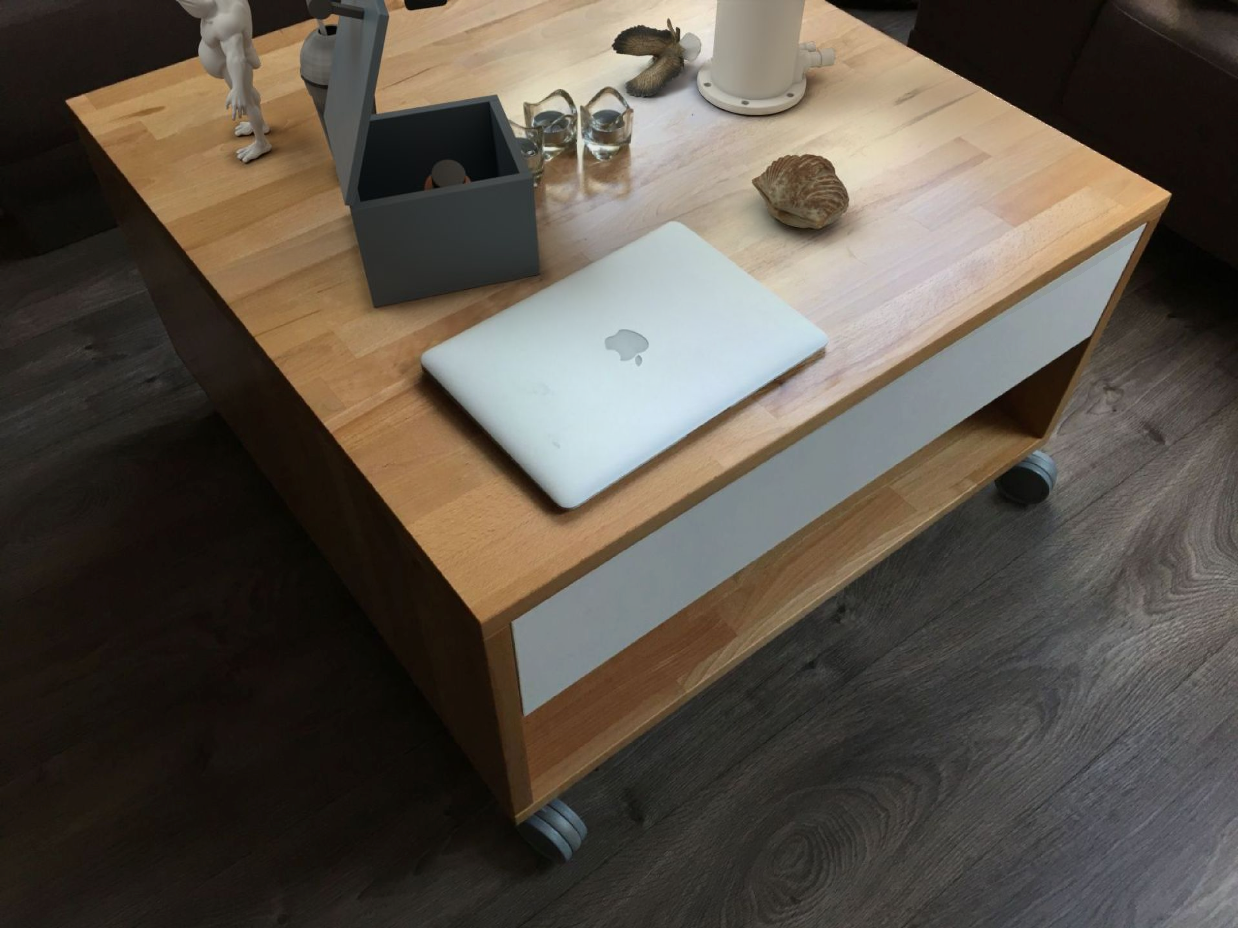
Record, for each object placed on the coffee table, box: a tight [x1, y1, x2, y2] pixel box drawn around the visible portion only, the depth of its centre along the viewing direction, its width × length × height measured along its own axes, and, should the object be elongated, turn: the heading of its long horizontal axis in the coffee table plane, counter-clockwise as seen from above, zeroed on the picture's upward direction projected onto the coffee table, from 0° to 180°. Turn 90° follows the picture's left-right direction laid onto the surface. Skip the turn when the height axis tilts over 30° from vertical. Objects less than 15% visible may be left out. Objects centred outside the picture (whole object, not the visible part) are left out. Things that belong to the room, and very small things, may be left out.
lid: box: [305, 0, 390, 207], centre depth 84 cm, size 17×14×5 cm
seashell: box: [751, 153, 850, 230], centre depth 101 cm, size 9×7×8 cm
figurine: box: [175, 0, 272, 163], centre depth 104 cm, size 18×7×18 cm, turn 16°
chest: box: [348, 94, 541, 308], centre depth 96 cm, size 16×14×11 cm
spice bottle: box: [424, 160, 471, 190], centre depth 95 cm, size 4×4×10 cm
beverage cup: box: [299, 18, 378, 160], centre depth 101 cm, size 7×7×20 cm
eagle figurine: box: [610, 17, 702, 97], centre depth 118 cm, size 8×7×9 cm
